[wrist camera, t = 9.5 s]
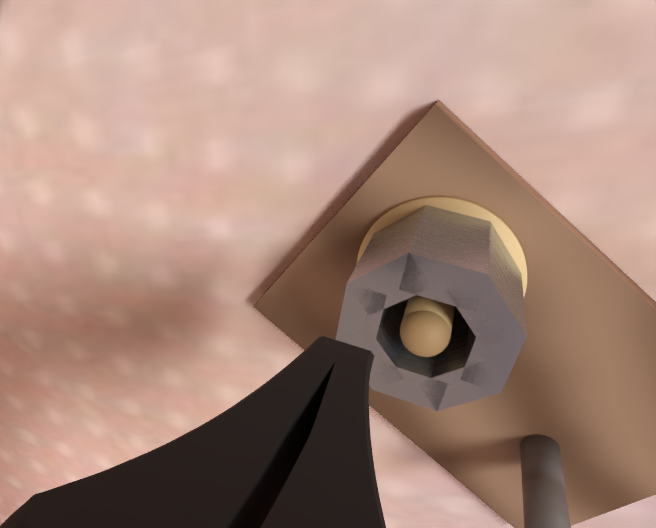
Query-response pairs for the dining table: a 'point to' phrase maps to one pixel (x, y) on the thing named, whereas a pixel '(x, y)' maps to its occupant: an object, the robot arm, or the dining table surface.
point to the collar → (444, 286)
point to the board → (536, 353)
